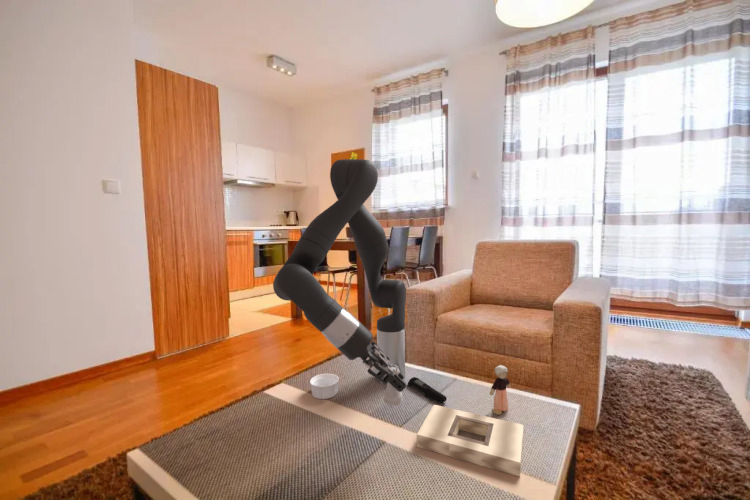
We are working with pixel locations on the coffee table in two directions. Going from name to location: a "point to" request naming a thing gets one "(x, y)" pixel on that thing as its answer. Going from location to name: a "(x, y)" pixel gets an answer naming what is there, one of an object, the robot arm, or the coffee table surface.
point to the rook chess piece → (392, 391)
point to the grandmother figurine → (500, 390)
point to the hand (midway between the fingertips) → (401, 383)
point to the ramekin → (324, 386)
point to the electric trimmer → (427, 390)
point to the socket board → (494, 453)
